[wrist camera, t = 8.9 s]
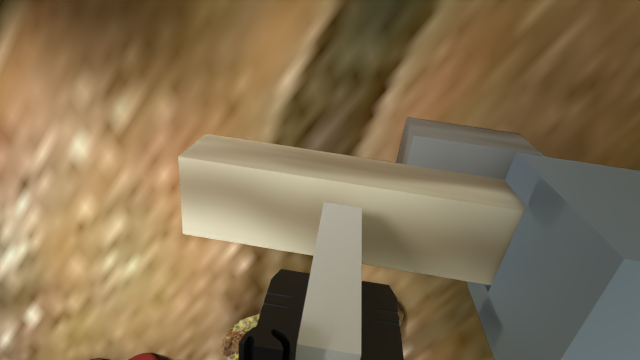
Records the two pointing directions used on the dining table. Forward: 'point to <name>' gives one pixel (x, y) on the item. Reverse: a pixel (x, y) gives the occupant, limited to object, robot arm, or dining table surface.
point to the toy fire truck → (139, 357)
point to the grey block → (567, 265)
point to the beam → (365, 197)
